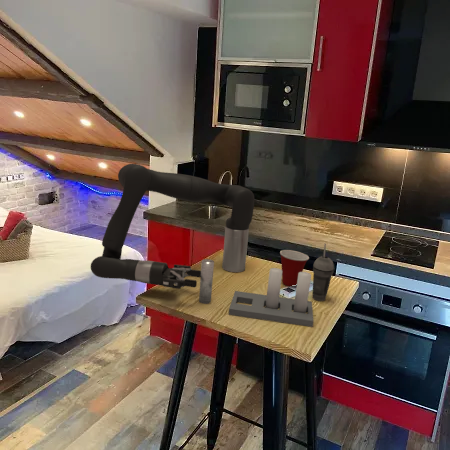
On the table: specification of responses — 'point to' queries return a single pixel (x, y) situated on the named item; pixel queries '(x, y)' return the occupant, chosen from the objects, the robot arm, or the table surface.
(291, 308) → the pin board
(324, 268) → the beverage cup
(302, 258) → the plastic cup
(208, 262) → the steel pin
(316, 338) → the table surface
